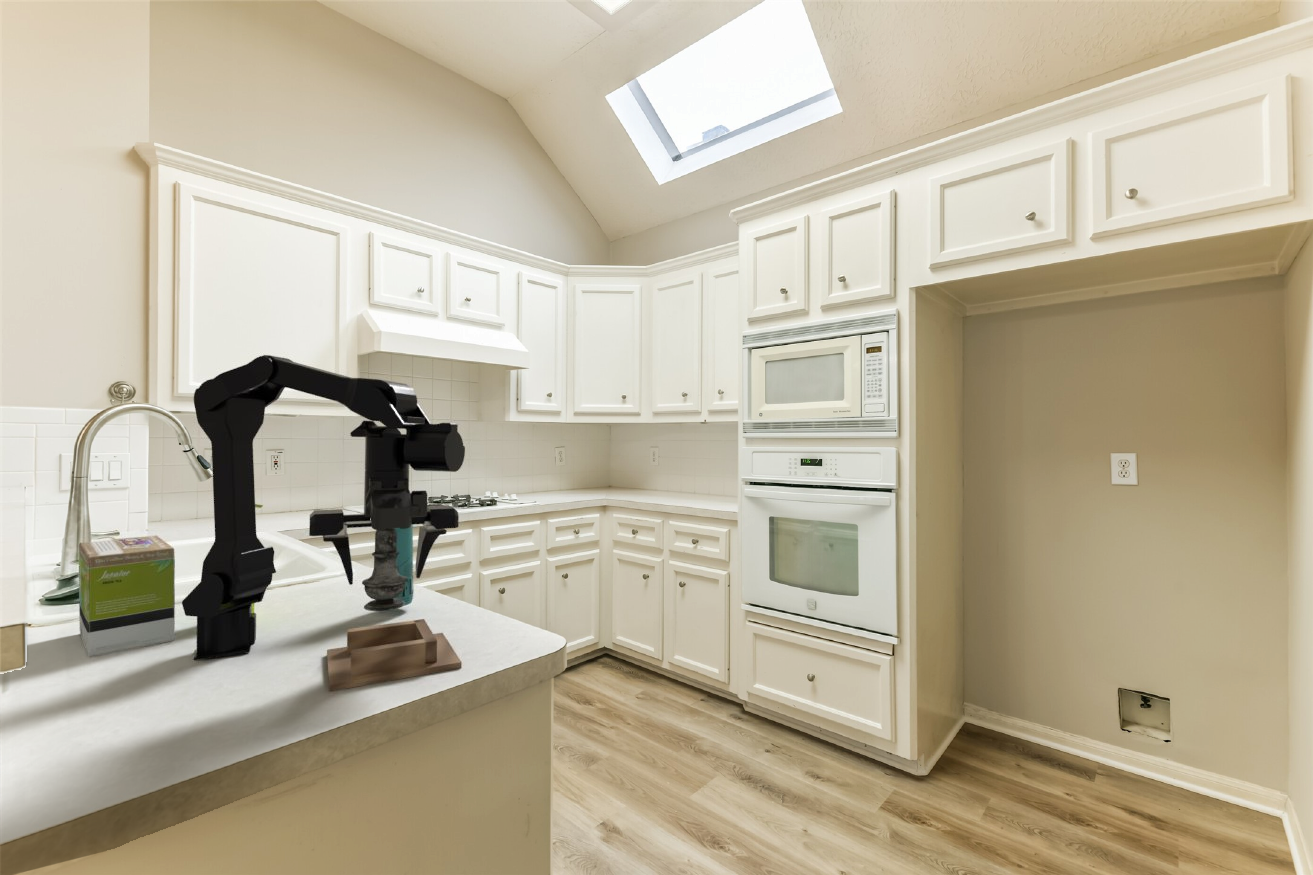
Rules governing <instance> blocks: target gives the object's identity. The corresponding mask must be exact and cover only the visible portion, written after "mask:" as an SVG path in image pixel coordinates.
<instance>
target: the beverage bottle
mask: <svg viewBox="0 0 1313 875" xmlns="http://www.w3.org/2000/svg"><path fill="white" fill-rule="evenodd" d="M394 529H395V530H396V531H397V551H398V552H399V554H398V555H397V569H398V573H399V574H400V575H401V576H405V577H407V578H408V580H407V582H405V588H404V590H403V592H402V593H401V594H400V595H399V596H398V597H395V598H398V599H401V600H402V601H404V602H405V605H404V606H408V605H411V603H412V602H413V599H414V596H415V595H414V591H415V590H414V589H415V588H414V585H415V583H414V579H415V577H414V571H415V570H414V568H415V567H414V554H415V553H414V541H413V540H414V539H413V536H414V530H413V529H414V524H413V525H411V527H410V528H407V529H400V528H394ZM376 531H377V530H375V532H376ZM404 606H403V607H404Z"/></svg>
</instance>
